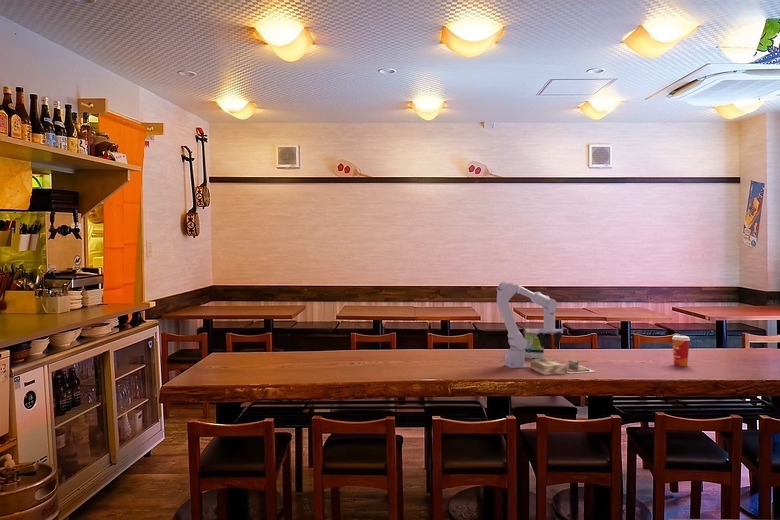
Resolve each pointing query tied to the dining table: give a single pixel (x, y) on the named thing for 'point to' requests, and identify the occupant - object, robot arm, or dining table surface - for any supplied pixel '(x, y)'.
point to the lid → (575, 367)
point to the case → (548, 366)
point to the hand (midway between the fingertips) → (549, 347)
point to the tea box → (533, 345)
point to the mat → (582, 371)
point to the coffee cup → (680, 350)
